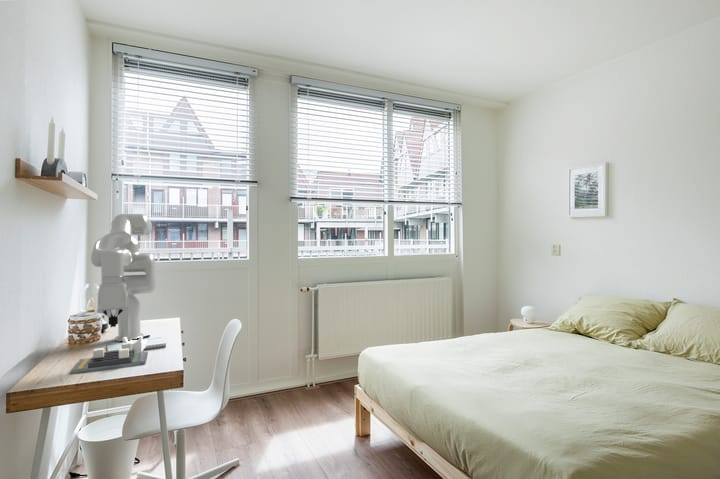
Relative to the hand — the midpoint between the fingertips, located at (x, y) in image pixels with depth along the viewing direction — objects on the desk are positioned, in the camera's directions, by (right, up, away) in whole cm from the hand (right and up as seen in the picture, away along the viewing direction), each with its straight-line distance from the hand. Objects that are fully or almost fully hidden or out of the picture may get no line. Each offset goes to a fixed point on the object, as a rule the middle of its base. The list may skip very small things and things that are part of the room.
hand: (113, 326), depth 158 cm
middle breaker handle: (-4, -13, -2) cm, 14 cm away
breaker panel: (0, -15, 0) cm, 15 cm away
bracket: (-1, -15, +18) cm, 23 cm away
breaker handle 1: (+2, -13, +6) cm, 15 cm away
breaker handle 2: (+6, -13, -3) cm, 15 cm away
